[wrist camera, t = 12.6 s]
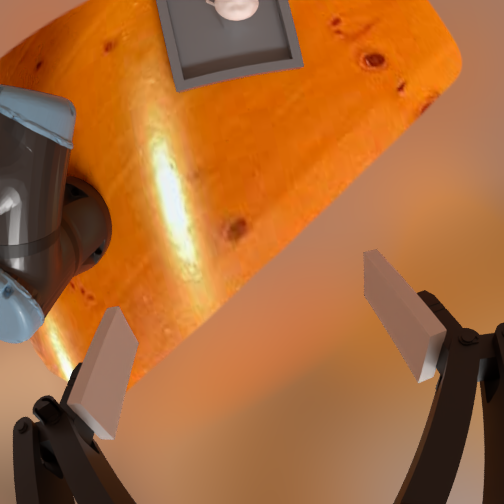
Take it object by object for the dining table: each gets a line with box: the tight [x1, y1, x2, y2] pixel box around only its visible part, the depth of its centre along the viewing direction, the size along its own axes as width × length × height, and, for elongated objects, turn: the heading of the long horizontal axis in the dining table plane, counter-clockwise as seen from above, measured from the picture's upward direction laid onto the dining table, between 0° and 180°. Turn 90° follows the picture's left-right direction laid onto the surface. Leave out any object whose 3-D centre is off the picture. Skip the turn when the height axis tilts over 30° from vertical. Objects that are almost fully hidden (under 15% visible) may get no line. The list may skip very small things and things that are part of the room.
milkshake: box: [206, 0, 259, 32], centre depth 27 cm, size 4×5×10 cm
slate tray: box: [156, 0, 304, 93], centre depth 31 cm, size 16×16×2 cm
